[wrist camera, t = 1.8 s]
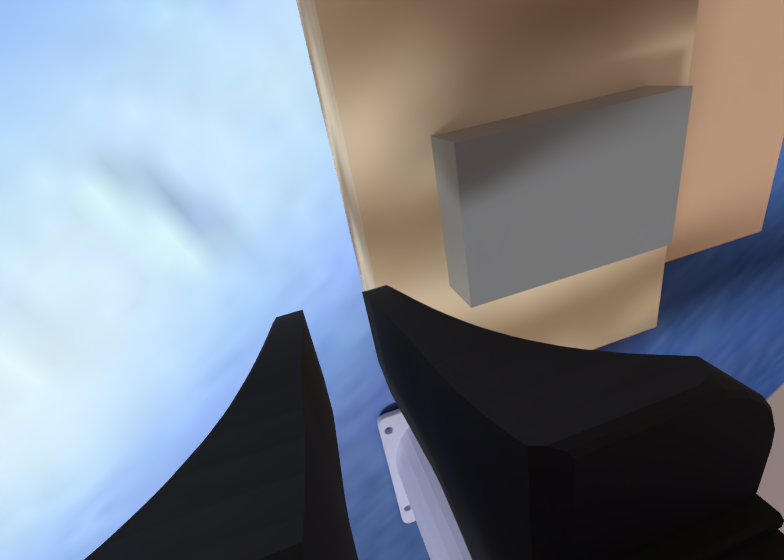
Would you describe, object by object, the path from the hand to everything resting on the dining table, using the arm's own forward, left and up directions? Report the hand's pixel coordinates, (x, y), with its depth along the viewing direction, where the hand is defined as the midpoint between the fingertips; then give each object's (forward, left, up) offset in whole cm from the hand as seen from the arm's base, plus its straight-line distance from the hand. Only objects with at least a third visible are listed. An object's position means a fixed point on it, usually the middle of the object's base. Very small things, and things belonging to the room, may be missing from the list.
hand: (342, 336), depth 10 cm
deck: (0, -9, -10) cm, 13 cm away
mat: (0, -22, -10) cm, 24 cm away
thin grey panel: (0, -10, -6) cm, 11 cm away
